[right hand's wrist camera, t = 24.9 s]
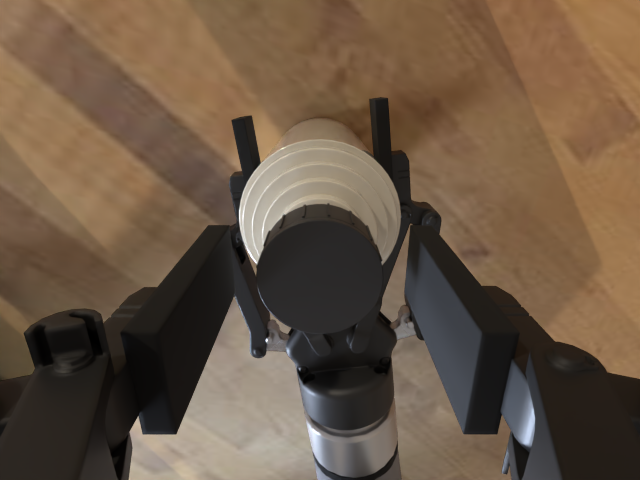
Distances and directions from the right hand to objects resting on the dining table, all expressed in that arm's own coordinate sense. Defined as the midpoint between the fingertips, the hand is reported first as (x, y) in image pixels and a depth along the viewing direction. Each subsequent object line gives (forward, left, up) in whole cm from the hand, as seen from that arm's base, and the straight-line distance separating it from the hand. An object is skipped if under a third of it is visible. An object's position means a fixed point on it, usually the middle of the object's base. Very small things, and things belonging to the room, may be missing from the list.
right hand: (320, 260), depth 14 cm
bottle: (0, 0, -19) cm, 19 cm away
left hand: (+2, +4, -12) cm, 13 cm away
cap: (0, 0, +1) cm, 1 cm away
